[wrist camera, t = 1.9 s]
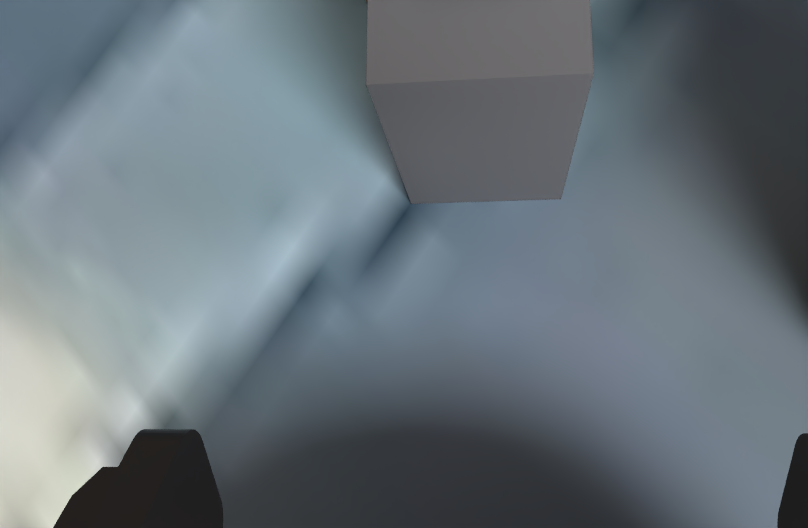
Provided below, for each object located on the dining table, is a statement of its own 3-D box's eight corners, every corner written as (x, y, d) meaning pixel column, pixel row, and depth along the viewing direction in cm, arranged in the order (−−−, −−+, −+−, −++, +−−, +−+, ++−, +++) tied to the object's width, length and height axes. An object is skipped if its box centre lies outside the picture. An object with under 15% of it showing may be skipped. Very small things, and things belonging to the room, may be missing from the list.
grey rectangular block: (411, 203, 29) (355, 56, 17) (411, 68, 30) (359, -151, 19) (560, 199, 28) (601, 42, 17) (555, 61, 29) (589, -170, 18)
